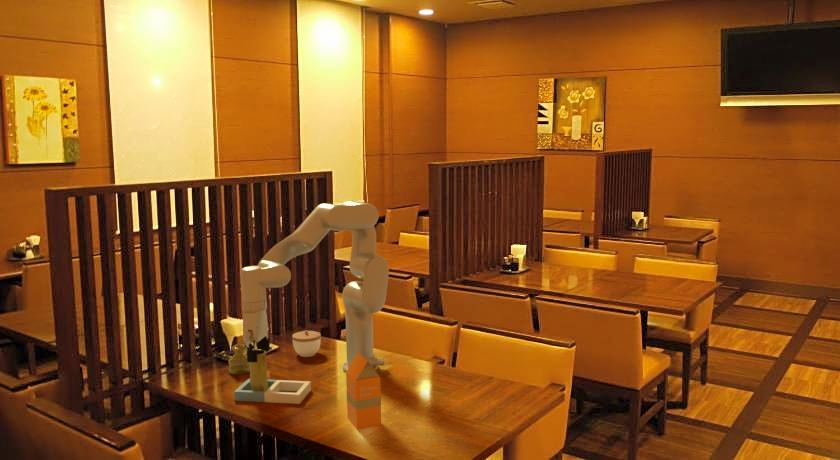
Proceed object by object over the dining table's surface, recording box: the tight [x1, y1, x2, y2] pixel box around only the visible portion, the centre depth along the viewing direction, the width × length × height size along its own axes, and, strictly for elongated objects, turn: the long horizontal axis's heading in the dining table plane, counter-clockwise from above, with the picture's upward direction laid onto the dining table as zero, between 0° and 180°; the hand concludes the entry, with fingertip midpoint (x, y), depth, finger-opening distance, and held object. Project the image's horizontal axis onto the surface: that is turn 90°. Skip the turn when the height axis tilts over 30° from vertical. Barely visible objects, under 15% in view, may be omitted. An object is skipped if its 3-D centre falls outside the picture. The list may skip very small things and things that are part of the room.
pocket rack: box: [233, 378, 312, 405], centre depth 227 cm, size 22×12×3 cm, turn 81°
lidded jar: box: [291, 329, 322, 358], centre depth 267 cm, size 11×11×9 cm
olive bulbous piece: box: [228, 343, 250, 376], centre depth 249 cm, size 7×7×10 cm
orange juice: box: [345, 353, 382, 430], centre depth 205 cm, size 8×9×20 cm
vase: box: [249, 349, 269, 391], centre depth 227 cm, size 6×6×14 cm
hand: (258, 356), depth 227 cm, fingers open, 9 cm apart
